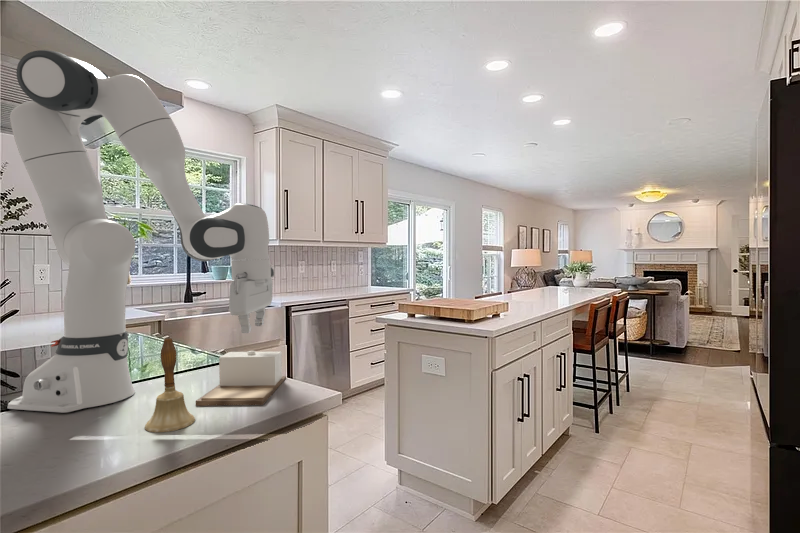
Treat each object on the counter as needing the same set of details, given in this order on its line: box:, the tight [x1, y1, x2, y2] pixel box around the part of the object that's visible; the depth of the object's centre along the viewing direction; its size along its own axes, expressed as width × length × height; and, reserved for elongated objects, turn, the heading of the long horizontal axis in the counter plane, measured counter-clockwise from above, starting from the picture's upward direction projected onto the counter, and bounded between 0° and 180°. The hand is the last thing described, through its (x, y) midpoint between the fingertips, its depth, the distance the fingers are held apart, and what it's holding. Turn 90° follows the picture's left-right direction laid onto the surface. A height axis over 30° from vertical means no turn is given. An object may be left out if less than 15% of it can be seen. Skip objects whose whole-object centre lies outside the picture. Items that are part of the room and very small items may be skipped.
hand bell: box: [144, 337, 196, 433], centre depth 80 cm, size 8×8×16 cm
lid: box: [218, 350, 283, 386], centre depth 104 cm, size 13×6×7 cm, turn 90°
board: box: [195, 375, 287, 407], centre depth 100 cm, size 14×19×1 cm
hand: (253, 329), depth 104 cm, fingers open, 8 cm apart
